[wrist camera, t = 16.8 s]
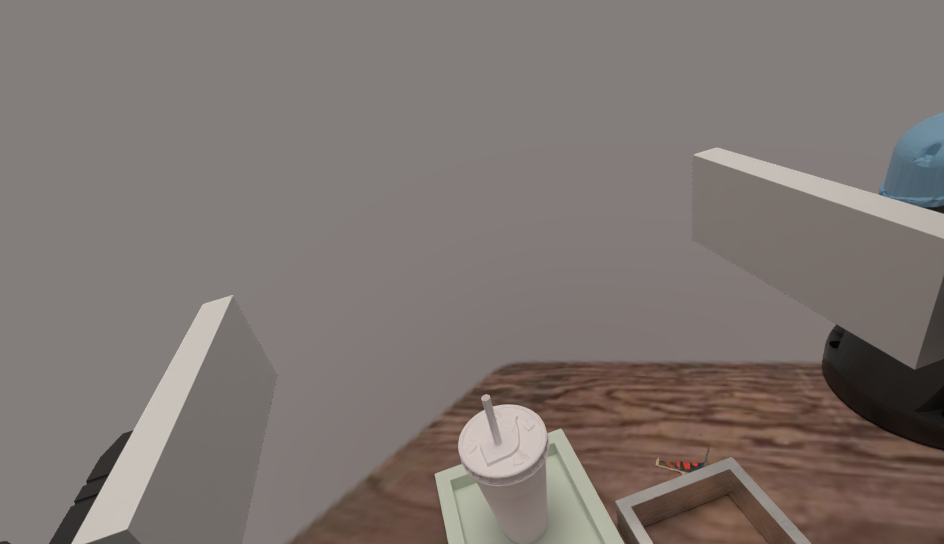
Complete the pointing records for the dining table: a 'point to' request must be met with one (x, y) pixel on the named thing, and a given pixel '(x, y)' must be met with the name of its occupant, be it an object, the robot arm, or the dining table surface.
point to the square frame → (700, 490)
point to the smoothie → (509, 466)
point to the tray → (568, 503)
